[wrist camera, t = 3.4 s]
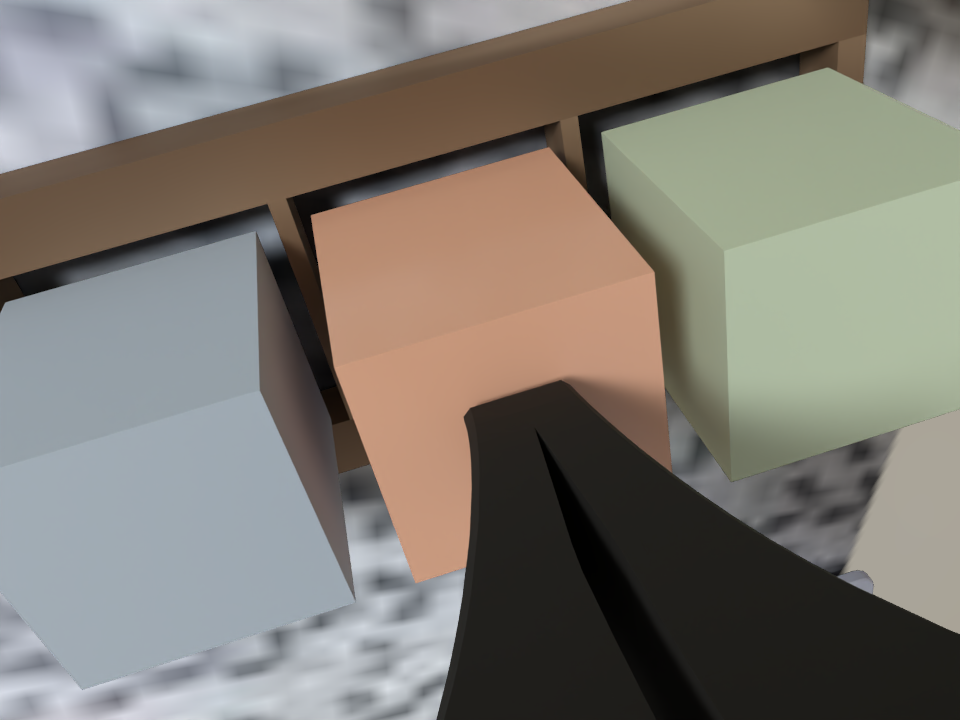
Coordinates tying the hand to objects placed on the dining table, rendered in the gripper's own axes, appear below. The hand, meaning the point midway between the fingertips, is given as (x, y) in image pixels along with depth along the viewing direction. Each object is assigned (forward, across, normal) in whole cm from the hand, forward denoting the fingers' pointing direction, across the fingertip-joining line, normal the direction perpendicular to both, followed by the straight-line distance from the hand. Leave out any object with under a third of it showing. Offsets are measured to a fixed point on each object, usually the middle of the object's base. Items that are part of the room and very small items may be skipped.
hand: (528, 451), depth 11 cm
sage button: (+5, -5, 0) cm, 7 cm away
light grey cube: (+5, +5, 0) cm, 7 cm away
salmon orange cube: (+5, 0, 0) cm, 5 cm away
